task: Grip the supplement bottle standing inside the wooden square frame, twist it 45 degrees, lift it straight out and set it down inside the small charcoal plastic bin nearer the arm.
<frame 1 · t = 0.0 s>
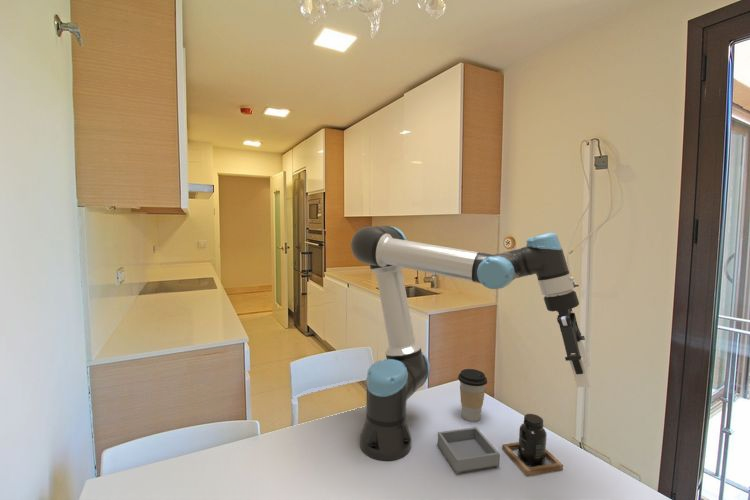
hand: (584, 375, 88), 28 cm above the table, tool tilted 20°, fingers open, 13 cm apart
supplement bottle: (531, 460, 99), resting in wooden square frame
bin: (466, 455, 99), on the table
wooden square frame: (531, 459, 99), on the table
coffee cup: (470, 417, 119), on the table
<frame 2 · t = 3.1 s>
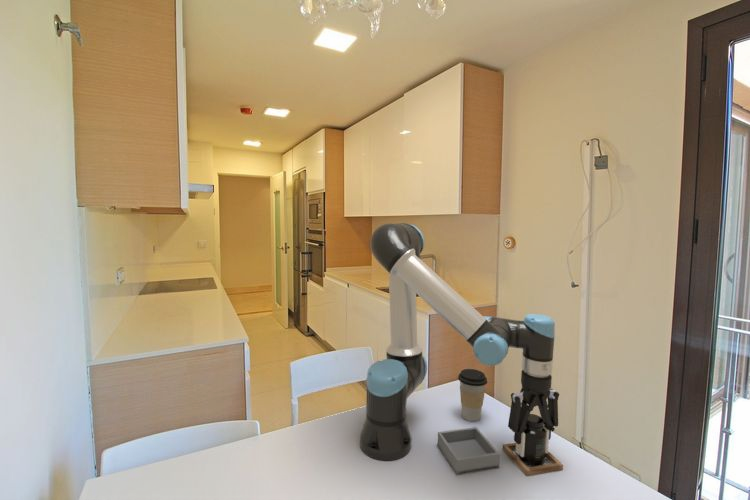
hand: (531, 451, 98), 2 cm above the table, tool pointing down, fingers closed on supplement bottle, 7 cm apart
supplement bottle: (531, 460, 99), resting in wooden square frame, touching gripper
everything else where it was.
when the fingers open (4 cm above the table, at t = 9.8 s): supplement bottle drops 2 cm, resting on bin.
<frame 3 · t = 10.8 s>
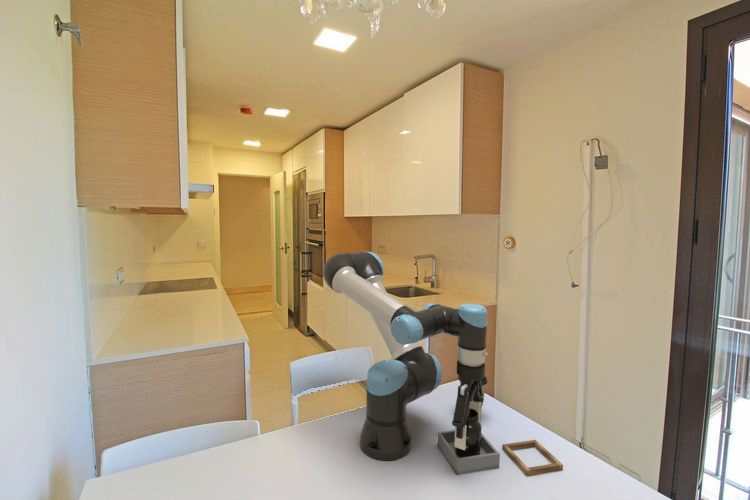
hand: (467, 434, 99), 6 cm above the table, tool pointing down, fingers open, 13 cm apart
supplement bottle: (467, 453, 99), point 1 cm above the table, touching bin
everything else where it was.
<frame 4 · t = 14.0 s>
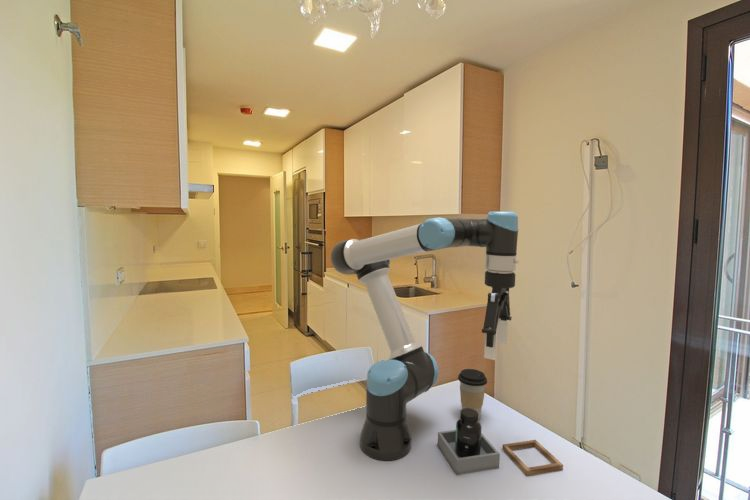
hand: (496, 350, 94), 32 cm above the table, tool pointing down, fingers open, 13 cm apart
nothing on the table moved.
at the end: supplement bottle inside the target area on the bin (0.2 cm from its centre), point 0.6 cm above the bin's base; the gripper is holding nothing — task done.
